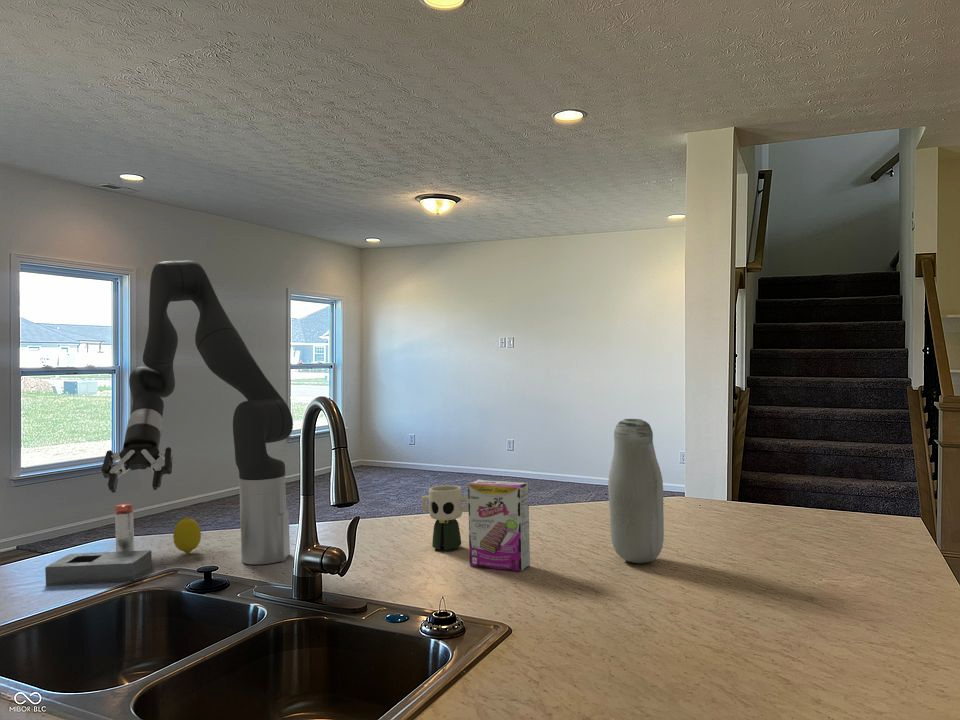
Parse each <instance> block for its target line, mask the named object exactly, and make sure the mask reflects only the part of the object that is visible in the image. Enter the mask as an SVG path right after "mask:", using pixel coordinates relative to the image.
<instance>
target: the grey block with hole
mask: <svg viewBox="0 0 960 720" xmlns="http://www.w3.org/2000/svg"><path fill="white" fill-rule="evenodd" d="M152 553H153V552H152V549H151V550H149V549H148V550H146V549H145V550H134V551H122V552H116V551H104V552H83V553H79V552H78V553H69V554H67V555H65V556H63V557H62V558H60V559H58V560H55V561H54V562H52V563H50V564H48V565H47V566H45V567H44V569H45V570H44V571H45V586H46V585H47V586H48V585H49V586H64V585H65V586H69V585H68V584H70V585H86V584H87V585H89V584H92V585H93V584H108V583H129V582H128V581H133V582H135V581H136V580H137V579H139V578H140V577H141V576H143V575H144V574H145V573H146V571H147V570H148V571H149V570H151V569H152V568H153V560H152V559H153V558H152V557H153V556H152ZM151 567H152V568H151ZM150 568H151V569H150ZM148 571H147V572H148ZM143 573H144V574H143ZM142 574H143V575H142ZM140 575H141V576H140ZM139 576H140V577H139ZM138 577H139V578H138ZM136 578H137V579H136ZM135 579H136V580H135ZM134 580H135V581H134Z"/></svg>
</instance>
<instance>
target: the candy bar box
mask: <svg viewBox="0 0 960 720" xmlns="http://www.w3.org/2000/svg"><path fill="white" fill-rule="evenodd" d="M529 492H530V491H529V483H528V482H522V481H521V482H519V481H505V480H504V481H501V480H490V479H475V480H474V481H473V480H472V481H471V482H469V483H467V494H468V495H467V497H468V506H469V512H468V535H469V537H468V540H469V543H468V545H469V550H468V551H469V566H470V567H476V568H487V569H495V570H504V571H511V572H524V571H525V569H526V568H528V567H529V566H530V565H531V555H530V554H531V553H530V551H531V550H530V511H529V509H530V508H529V505H530V504H529V503H530V502H529V496H530V495H529V494H530V493H529Z"/></svg>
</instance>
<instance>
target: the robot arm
mask: <svg viewBox="0 0 960 720" xmlns="http://www.w3.org/2000/svg"><path fill="white" fill-rule="evenodd" d="M150 274H151V275H150V281H149V282H150V283H149V297H148V302H149V303H148V305H149V306H148V330H147V336H146V341H145V344H144V349H143V353H142V361H143V364H144V366H137V367H135V368H134V369H132V370H131V372H130V375H129V377H128V378H129V379H128V380H129V381H128V383H129V389H130V395H131V400H132V403H131V404H132V406H131V410H130V415H129V419H128V421H127V426H126V431H125V435H124V441H123V445H122V449H121V451H120V452H113V451H112V450H109V449H108V450H107V451H106V453H105V456H104V460H103V463H102V467H101V469H100V470H101V473H102V476H103V478H104V479H107V478H108V482H107V486H108V487H107V488H108V490H109V491H110V492H111V494H112V493H113V494H114V493H117V487H118V482H119V479H118V478H120V477H121V476H122V475H125V474H126V473H127V472H129V470H130V471H136V470H146V469H148V468H149V469H150V471H151V472H152V473H153V479H152V485H151V486H152V490H153V491H157V490H158V488H161V486H162V479H163V476H164V475H171V474H172V472H173V451H172V448H171V447H166V448H165V449H162V450H159V449H160V441H161V436H162V432H163V415H164V409H165V404H164V400H163V399H162V398H168V397H170V396H171V395H172V394H173V393H174V391H175V386H176V378H175V373H174V360H175V356H176V353H177V349H178V342H179V337H178V333H177V330H176V328H175V327H174V324H173V323H172V321H171V319H170V317H169V315H168V307H169V304H170V303H171V302H182V301H183V302H184V301H185V302H186V301H191V302H193V303H194V304H195V305H196V307H197V310H198V312H199V317H198V322H197V326H196V330H195V336H194V341H195V342H194V343H195V347H196V349H197V350H198V352H199V355H200V356H201V358H202V360H203V361H204V363H205V365H206V367H207V368H208V369H209V370H210V371H211V372H212V373H213V374H214V375H216V376H217V377H218V378H219V379H220V380H222V381H224V383H226V384H227V385H230V386H231V387H232V388H234V389H235V390H237V391H238V392H239V393H240V394H241V395H243V396H244V398H246V400H244V401H241V402H240V403H239V404H238V405H237V406H236V408H235V409H234V412H233V417H232V434H233V445H234V459H235V463H236V467H237V470H238V478H239V481H238V482H239V485H238V487H239V515H240V517H239V518H240V546H241V547H240V549H241V550H240V553H241V555H240V556H241V562H242V563H244V564H247V565H268V564H274V563H278V562H285V561H286V560H287V558H288V557H289V556H290V554H291V552H290V551H291V545H290V544H291V543H290V513H289V509H288V508H287V493H286V487H287V486H286V464H285V462H284V461H283V460H281V459H278V458H277V459H276V458H274V457H271V456H270V455H269V454H268V450H267V445H266V444H271V443H276V442H281V441H284V440H286V439H287V438H289V437H290V435H291V434H292V432H293V428H294V420H293V414H292V412H291V410H290V408H289V406H288V404H287V403H286V401H285V400H284V398H283V397H282V396H281V395H280V393H279V392H278V391H277V390H276V388H275V387H274V386H273V384H272V383H271V382H270V381H269V380H268V377H267V376H266V375H265V374H264V372H263V371H262V369H261V368H260V366H259V365H258V364H257V363H258V362H256V360H255V359H254V357H253V355H252V354H251V352H250V351H249V348H248V347H247V345H246V343H245V342H244V340H243V339H242V337H241V335H240V333H239V331H238V330H237V328H236V327H235V326H234V324H233V323H232V321H231V320H230V318H229V316H228V314H227V313H226V311H225V309H224V307H223V305H222V303H221V302H220V300H219V298H218V295H217V294H216V292H215V290H214V288H213V285H212V282H211V280H210V278H209V277H208V275H207V272H206V270H205V269H204V268H203V266H201V264H200V263H199V262H197V261H195V260H188V259H187V260H169V261H168V260H167V261H159V262H157V263H156V264H155V265H154V267H153V268H152V270H151V273H150ZM160 457H161V458H162V460H164V465H162V466H160V465H159V463H158V461H157V460H158V459H160ZM118 459H119V460H118ZM117 460H118V462H117ZM116 462H117V463H116ZM115 463H116V465H115V466H113V464H115Z"/></svg>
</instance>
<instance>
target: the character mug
mask: <svg viewBox="0 0 960 720" xmlns="http://www.w3.org/2000/svg"><path fill="white" fill-rule="evenodd" d="M427 501H428V506H427ZM463 502H465V507H463ZM421 509H422V511H424V512H429V517H430V518H431V519H433V520H435V522H434V525H433V533H432V542H431V543H432V544H431V545H432V548H433V549H436V550H437V549H438V550H441V549H442V548H443V547H444V548H443V549H444V550H445V551H446V550H454V549H458V548H459V547H460V546H461V545H462V537H461V531H460V525H459V522H458V520H457V519H459V518H461V517H462V515H463V513H469V506H468V496H463V491H462V486H459V485H455V484H454V485H452V484H451V485H449V484H448V485H447V484H445V485H436V486H431V487H429V489H428V495H422V496H421Z"/></svg>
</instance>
